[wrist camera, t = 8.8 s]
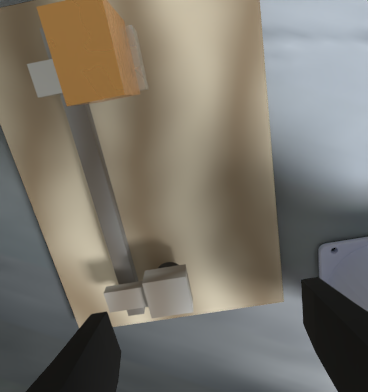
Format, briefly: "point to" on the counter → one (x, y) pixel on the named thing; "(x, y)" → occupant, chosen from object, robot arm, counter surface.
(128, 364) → the counter surface
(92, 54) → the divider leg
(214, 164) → the hole gauge board
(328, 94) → the counter surface
